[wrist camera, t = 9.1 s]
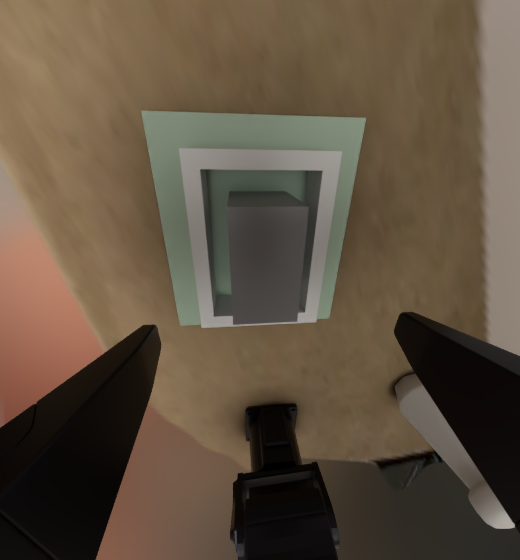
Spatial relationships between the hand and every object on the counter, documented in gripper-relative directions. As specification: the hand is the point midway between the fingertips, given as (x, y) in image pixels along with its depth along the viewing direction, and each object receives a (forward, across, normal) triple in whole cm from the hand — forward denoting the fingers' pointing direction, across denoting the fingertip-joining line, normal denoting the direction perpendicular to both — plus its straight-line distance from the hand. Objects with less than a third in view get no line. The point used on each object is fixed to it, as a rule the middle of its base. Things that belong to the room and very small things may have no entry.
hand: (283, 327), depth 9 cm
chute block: (+11, 0, 0) cm, 11 cm away
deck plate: (+12, 0, 0) cm, 12 cm away
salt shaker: (+12, -20, +20) cm, 31 cm away
